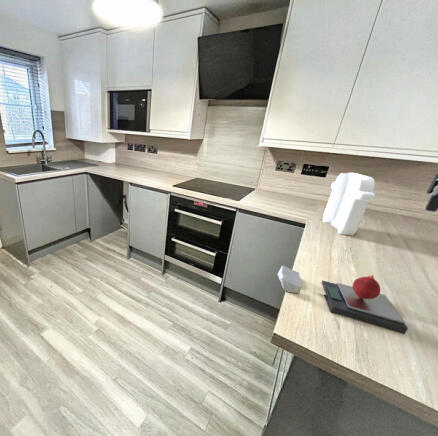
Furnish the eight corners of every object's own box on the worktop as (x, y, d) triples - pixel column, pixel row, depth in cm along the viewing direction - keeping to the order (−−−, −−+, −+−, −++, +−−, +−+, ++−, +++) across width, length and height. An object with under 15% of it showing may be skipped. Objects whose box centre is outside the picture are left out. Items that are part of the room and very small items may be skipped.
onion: (378, 307, 65) (390, 283, 62) (353, 301, 67) (364, 278, 64) (368, 295, 70) (379, 272, 67) (345, 289, 72) (355, 267, 69)
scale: (381, 301, 72) (385, 294, 71) (404, 334, 60) (409, 326, 60) (320, 285, 78) (322, 279, 78) (330, 312, 67) (333, 305, 66)
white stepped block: (367, 240, 117) (393, 180, 106) (342, 237, 118) (365, 178, 108) (337, 221, 142) (356, 171, 131) (316, 218, 143) (333, 169, 133)
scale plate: (383, 297, 71) (385, 294, 71) (403, 324, 61) (405, 321, 60) (335, 285, 76) (336, 282, 75) (347, 308, 65) (348, 305, 65)
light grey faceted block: (291, 301, 75) (302, 292, 71) (272, 290, 77) (281, 281, 73) (294, 278, 82) (304, 269, 78) (276, 269, 84) (285, 260, 80)
